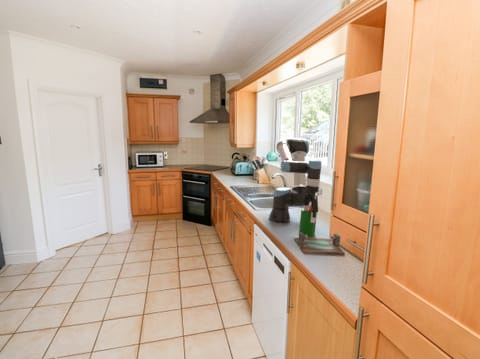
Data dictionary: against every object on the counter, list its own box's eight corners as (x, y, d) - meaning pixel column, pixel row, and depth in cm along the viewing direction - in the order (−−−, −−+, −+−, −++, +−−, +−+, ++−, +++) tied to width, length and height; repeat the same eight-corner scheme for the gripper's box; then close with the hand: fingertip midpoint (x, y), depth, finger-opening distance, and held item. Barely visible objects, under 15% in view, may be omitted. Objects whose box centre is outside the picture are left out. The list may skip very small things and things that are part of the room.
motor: (304, 230, 170) (307, 200, 167) (317, 234, 165) (320, 203, 161) (297, 234, 162) (300, 203, 159) (310, 238, 157) (314, 206, 154)
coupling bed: (294, 240, 153) (295, 227, 152) (330, 241, 155) (332, 229, 153) (303, 253, 135) (305, 240, 134) (344, 255, 137) (346, 241, 136)
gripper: (300, 181, 170) (297, 212, 174) (313, 189, 146) (309, 225, 149) (311, 182, 171) (308, 213, 174) (326, 189, 146) (322, 225, 150)
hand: (309, 218), depth 162 cm, fingers open, 13 cm apart
